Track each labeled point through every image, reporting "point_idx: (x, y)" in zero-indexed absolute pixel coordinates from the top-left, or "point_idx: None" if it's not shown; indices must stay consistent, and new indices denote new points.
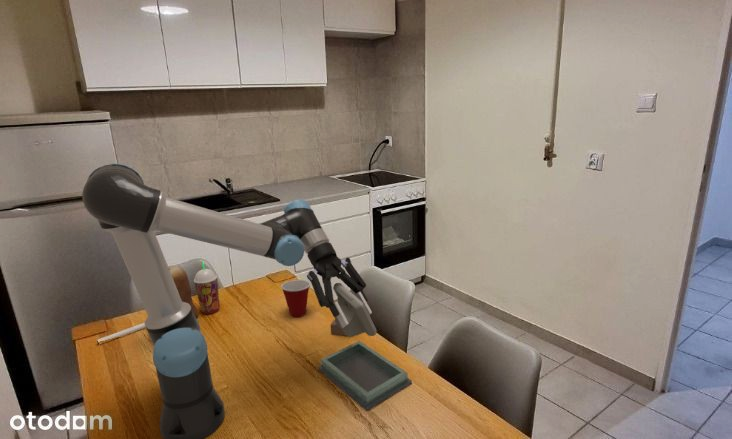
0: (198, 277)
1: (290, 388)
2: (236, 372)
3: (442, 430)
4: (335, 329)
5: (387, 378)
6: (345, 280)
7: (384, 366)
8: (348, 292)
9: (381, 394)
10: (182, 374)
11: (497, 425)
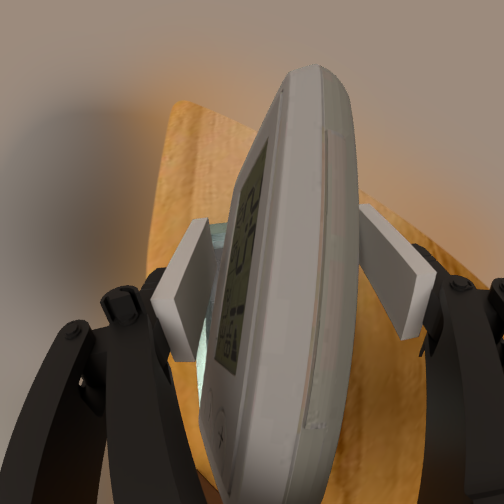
0: None
1: (418, 375)
2: None
3: (240, 127)
4: (217, 500)
5: None
6: (188, 482)
7: (209, 298)
8: (302, 259)
9: None
10: None
11: (177, 107)
